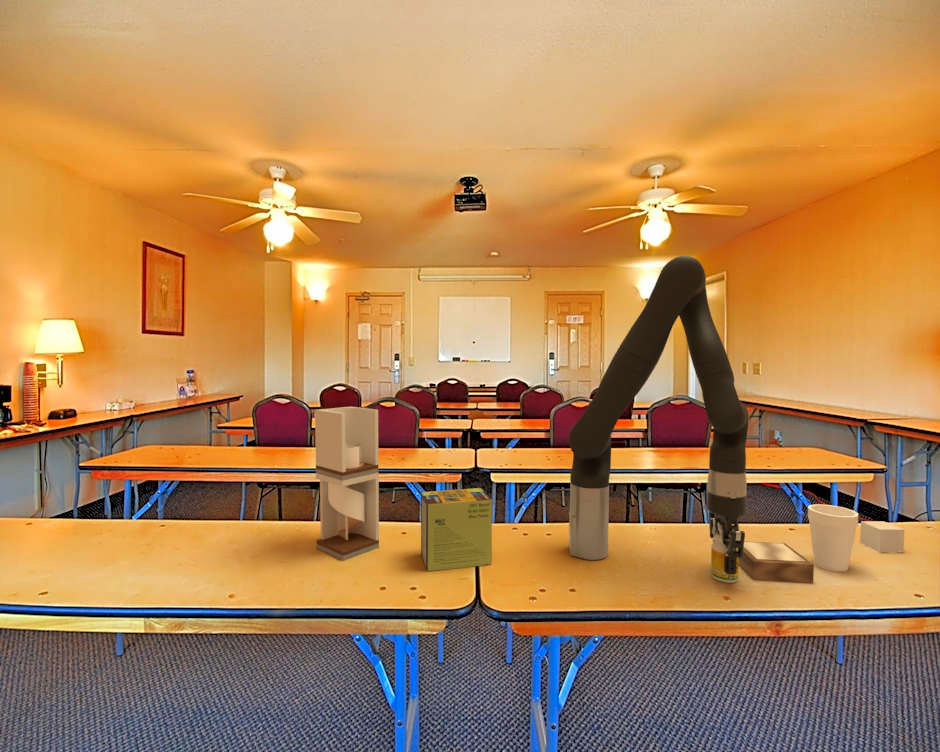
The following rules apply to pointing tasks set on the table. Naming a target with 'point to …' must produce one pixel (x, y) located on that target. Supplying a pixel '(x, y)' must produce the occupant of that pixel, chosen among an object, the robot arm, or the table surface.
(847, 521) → the foam cup
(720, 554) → the supplement bottle
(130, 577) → the table surface
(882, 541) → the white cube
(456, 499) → the protein box
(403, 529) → the table surface
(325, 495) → the beige cubby shelf tower
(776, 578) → the base slab
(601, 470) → the robot arm
